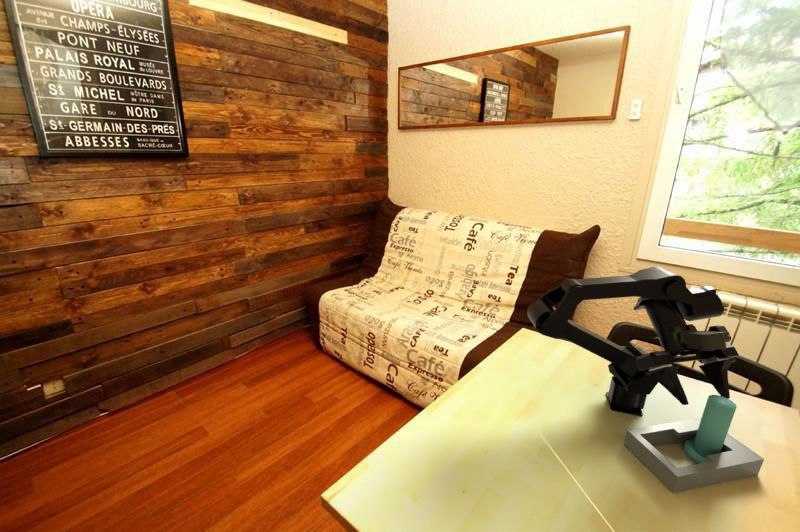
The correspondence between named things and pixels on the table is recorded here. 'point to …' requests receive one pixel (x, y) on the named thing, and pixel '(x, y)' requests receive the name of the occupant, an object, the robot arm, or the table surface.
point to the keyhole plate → (718, 469)
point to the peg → (711, 429)
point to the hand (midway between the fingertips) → (706, 401)
